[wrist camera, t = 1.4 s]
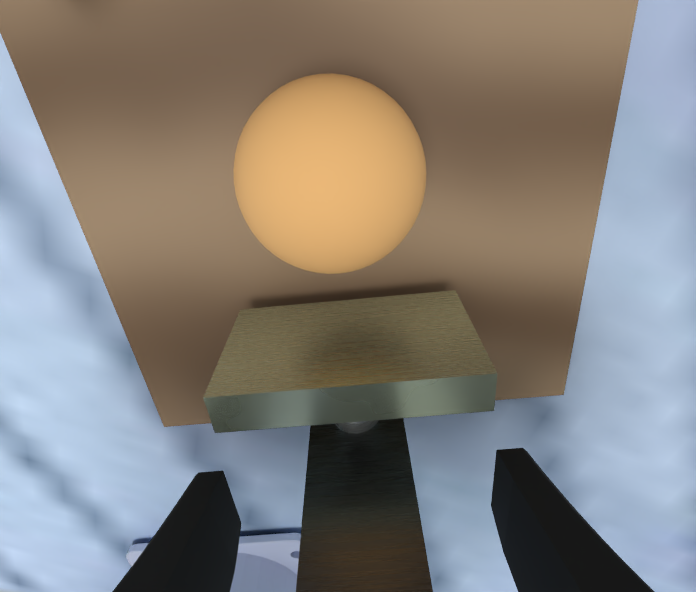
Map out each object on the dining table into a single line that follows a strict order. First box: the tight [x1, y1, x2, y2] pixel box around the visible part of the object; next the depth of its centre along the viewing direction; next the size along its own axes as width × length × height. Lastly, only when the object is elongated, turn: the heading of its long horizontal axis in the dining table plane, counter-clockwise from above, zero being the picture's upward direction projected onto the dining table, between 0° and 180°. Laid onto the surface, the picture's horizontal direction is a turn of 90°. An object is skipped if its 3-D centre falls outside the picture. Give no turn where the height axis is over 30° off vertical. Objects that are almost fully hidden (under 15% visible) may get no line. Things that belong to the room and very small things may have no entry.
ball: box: [233, 73, 426, 274], centre depth 9 cm, size 4×4×4 cm
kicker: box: [203, 290, 497, 592], centre depth 9 cm, size 5×6×8 cm
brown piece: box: [0, 0, 638, 427], centre depth 8 cm, size 20×14×6 cm
